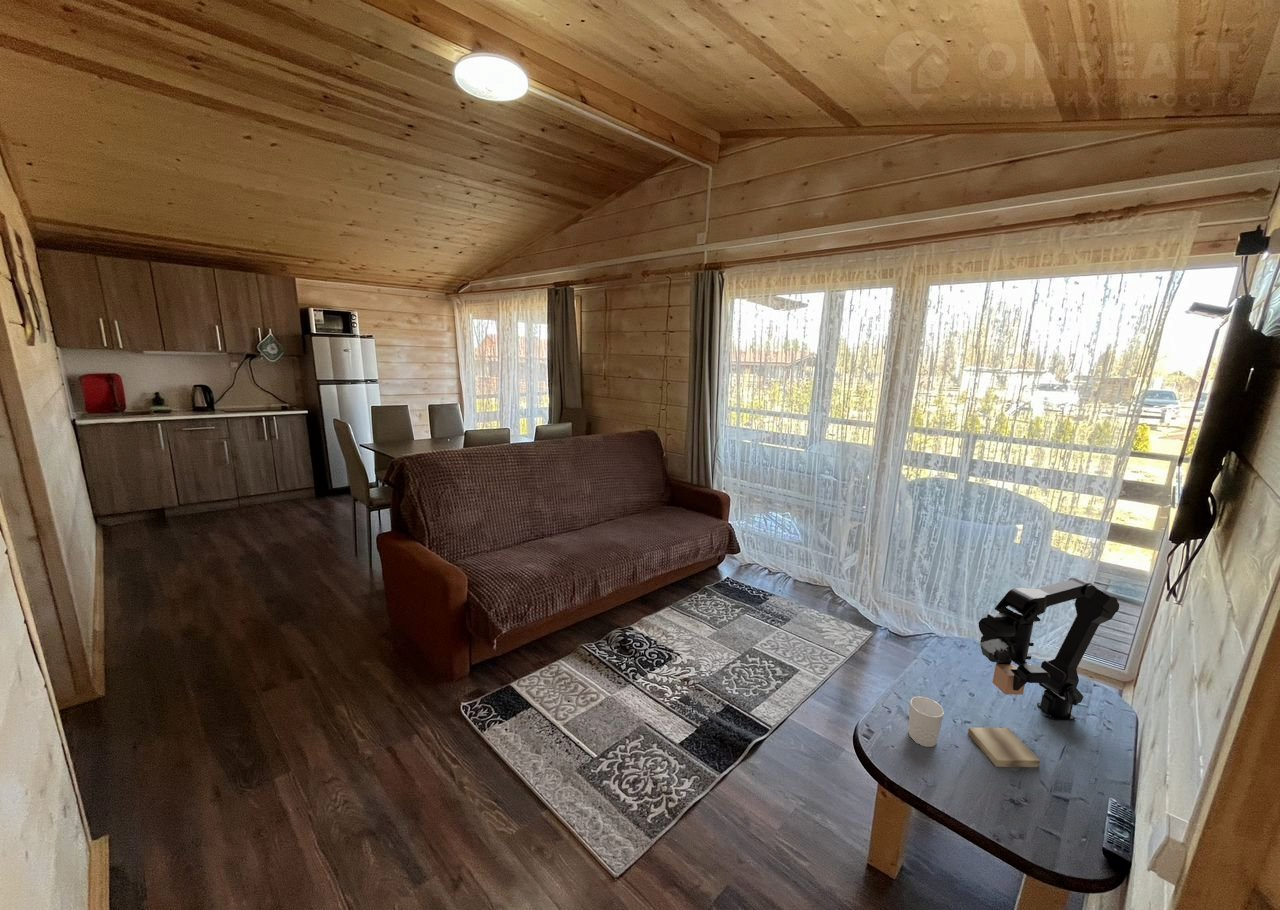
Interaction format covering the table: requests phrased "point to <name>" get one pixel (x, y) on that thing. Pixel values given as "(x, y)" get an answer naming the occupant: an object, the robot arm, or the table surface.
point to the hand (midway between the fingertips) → (1008, 683)
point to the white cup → (925, 721)
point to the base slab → (1003, 747)
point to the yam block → (1006, 679)
